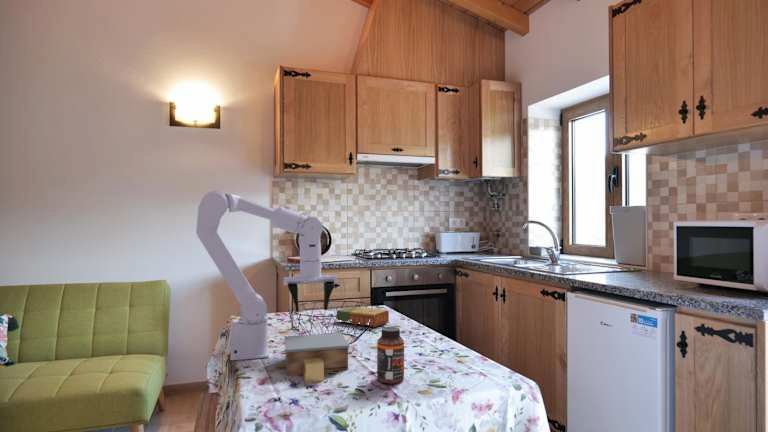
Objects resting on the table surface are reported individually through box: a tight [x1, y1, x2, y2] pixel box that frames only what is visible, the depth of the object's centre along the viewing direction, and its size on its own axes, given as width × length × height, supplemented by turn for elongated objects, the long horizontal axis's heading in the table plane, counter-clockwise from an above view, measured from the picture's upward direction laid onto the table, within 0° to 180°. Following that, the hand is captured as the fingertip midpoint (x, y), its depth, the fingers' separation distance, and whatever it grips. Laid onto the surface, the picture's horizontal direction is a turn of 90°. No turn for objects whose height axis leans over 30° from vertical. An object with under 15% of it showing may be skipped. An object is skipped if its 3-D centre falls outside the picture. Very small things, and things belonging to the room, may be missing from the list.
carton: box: [336, 306, 390, 328], centre depth 152 cm, size 8×16×4 cm, turn 56°
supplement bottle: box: [376, 326, 405, 385], centre depth 100 cm, size 6×6×11 cm
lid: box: [284, 332, 350, 353], centre depth 110 cm, size 14×12×1 cm
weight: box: [302, 357, 325, 384], centre depth 101 cm, size 4×4×4 cm
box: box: [284, 346, 349, 376], centre depth 111 cm, size 14×12×5 cm
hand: (311, 310), depth 124 cm, fingers open, 7 cm apart
